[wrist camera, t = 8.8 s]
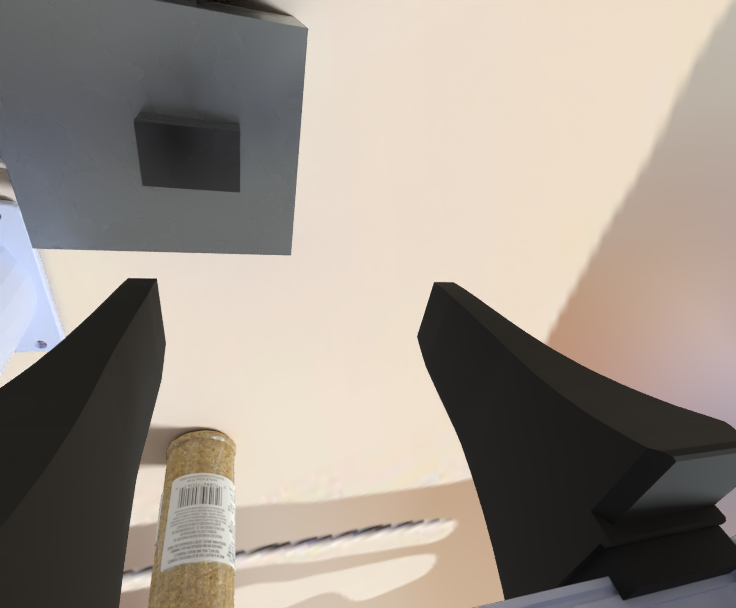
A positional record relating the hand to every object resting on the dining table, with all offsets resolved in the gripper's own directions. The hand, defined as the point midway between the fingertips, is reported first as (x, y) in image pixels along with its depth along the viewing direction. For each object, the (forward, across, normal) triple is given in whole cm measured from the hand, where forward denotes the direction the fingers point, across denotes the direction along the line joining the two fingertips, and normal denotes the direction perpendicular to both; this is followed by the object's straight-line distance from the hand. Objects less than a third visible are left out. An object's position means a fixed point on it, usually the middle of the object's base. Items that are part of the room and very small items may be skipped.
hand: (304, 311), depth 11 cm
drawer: (+10, +4, -2) cm, 11 cm away
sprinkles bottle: (+10, +4, +20) cm, 23 cm away
